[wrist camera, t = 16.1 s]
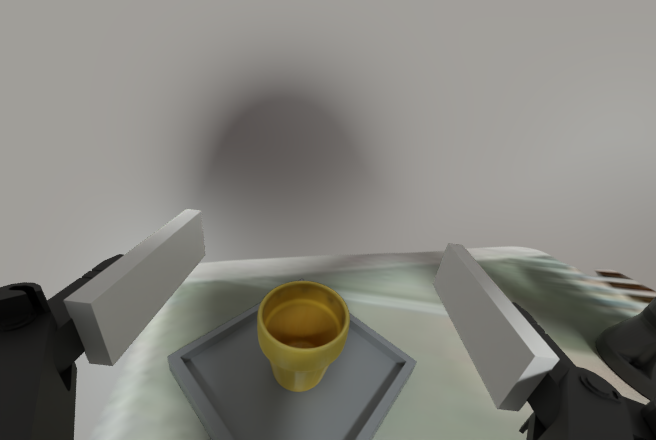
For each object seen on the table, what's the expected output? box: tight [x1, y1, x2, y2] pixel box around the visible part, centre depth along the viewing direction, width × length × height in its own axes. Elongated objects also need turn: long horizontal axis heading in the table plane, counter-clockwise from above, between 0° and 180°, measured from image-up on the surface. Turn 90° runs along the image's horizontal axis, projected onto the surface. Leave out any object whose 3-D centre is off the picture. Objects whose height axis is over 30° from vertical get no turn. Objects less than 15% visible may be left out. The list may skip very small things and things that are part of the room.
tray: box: [167, 279, 417, 440], centre depth 33 cm, size 22×22×2 cm
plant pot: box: [257, 281, 350, 392], centre depth 31 cm, size 10×10×10 cm
